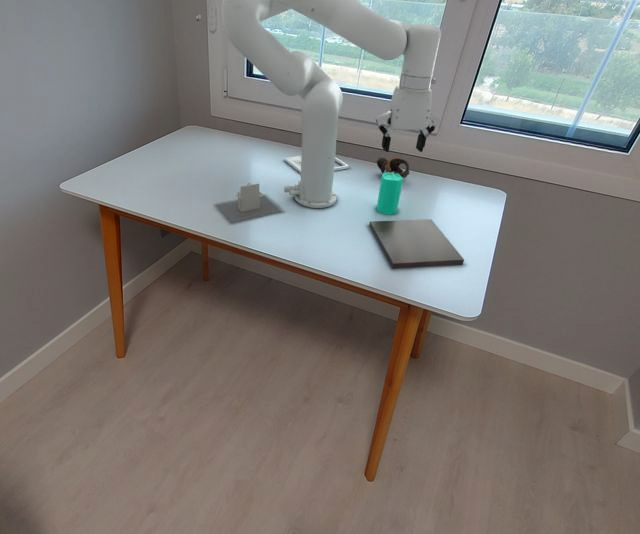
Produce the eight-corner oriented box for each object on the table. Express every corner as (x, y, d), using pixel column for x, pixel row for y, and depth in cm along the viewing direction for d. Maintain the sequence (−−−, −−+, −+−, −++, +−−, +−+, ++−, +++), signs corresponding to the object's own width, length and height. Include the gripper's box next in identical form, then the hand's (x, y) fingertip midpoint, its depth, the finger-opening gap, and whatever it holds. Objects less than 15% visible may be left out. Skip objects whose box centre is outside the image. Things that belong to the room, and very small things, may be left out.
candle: (396, 215, 117) (404, 176, 110) (375, 212, 118) (381, 173, 111) (397, 206, 122) (404, 168, 115) (377, 203, 123) (383, 165, 116)
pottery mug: (409, 176, 143) (416, 161, 135) (397, 195, 139) (403, 181, 131) (379, 161, 144) (384, 145, 137) (367, 179, 141) (371, 164, 133)
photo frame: (284, 157, 145) (327, 151, 153) (284, 160, 146) (327, 154, 154) (304, 172, 135) (349, 165, 143) (304, 175, 136) (348, 168, 144)
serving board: (392, 268, 95) (393, 263, 94) (369, 226, 111) (369, 221, 110) (462, 264, 99) (464, 259, 98) (430, 223, 114) (431, 219, 114)
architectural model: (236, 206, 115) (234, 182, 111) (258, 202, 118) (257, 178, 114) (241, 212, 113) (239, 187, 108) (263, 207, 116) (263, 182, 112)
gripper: (441, 80, 105) (426, 145, 115) (377, 78, 101) (368, 145, 111) (454, 87, 99) (437, 155, 109) (386, 84, 96) (376, 155, 105)
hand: (402, 150), depth 110 cm, fingers open, 9 cm apart
